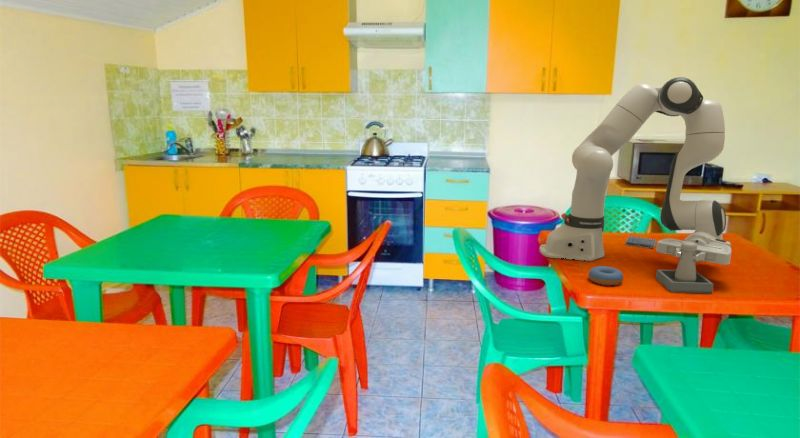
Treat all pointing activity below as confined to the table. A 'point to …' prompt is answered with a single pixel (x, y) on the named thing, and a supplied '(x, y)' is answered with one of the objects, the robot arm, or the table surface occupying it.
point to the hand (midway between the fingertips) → (686, 256)
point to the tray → (684, 283)
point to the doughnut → (606, 275)
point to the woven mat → (641, 242)
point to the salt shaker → (686, 263)
